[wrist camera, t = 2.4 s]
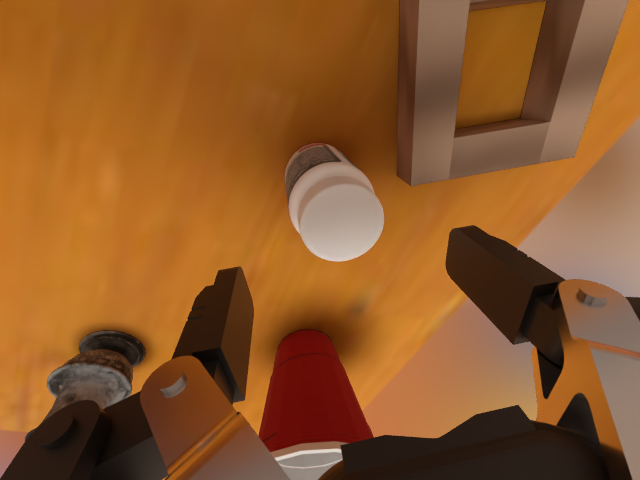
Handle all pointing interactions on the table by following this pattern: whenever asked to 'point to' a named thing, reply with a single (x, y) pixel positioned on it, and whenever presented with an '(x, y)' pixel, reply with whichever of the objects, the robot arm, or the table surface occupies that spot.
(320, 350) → the plastic cup
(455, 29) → the gray square frame
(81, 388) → the rusty flanged peg
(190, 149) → the table surface
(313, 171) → the pill bottle
